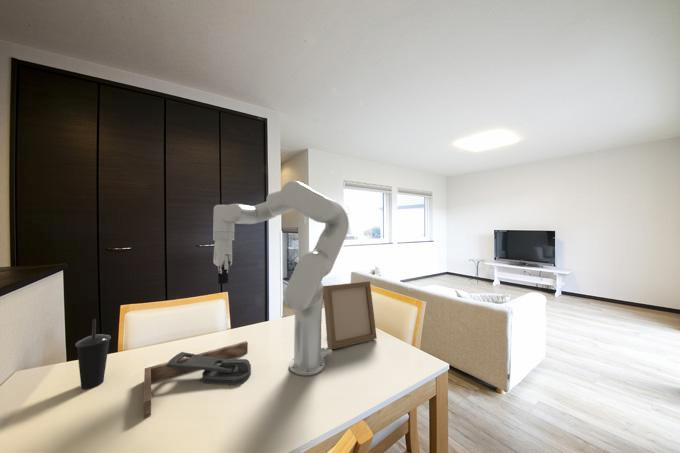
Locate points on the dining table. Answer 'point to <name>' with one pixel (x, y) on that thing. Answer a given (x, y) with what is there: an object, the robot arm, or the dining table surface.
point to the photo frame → (349, 314)
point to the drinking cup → (92, 358)
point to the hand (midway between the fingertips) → (222, 283)
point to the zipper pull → (215, 368)
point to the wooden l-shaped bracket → (164, 371)
